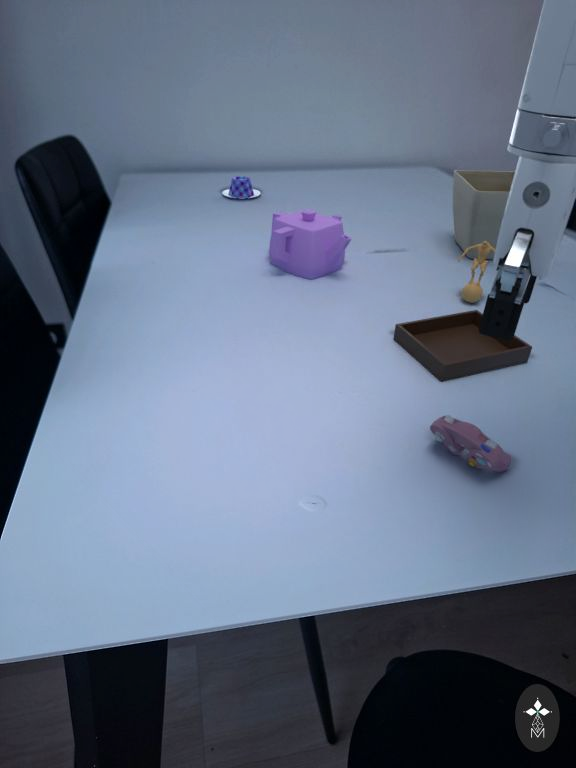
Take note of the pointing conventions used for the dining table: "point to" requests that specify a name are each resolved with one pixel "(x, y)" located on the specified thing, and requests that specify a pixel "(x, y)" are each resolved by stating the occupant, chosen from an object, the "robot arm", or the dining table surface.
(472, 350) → the tray
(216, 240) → the dining table surface
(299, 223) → the teakettle
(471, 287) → the figurine
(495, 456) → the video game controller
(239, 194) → the pudding
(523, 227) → the robot arm
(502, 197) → the flower pot
